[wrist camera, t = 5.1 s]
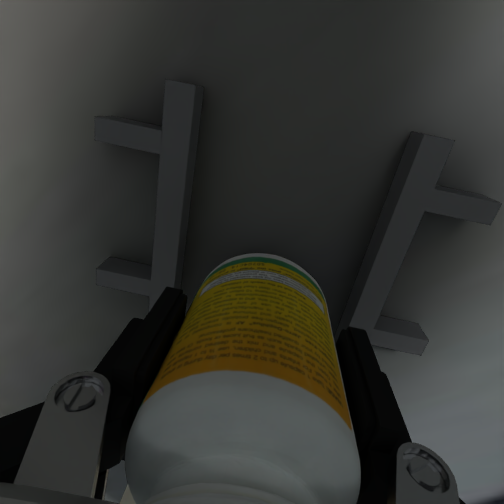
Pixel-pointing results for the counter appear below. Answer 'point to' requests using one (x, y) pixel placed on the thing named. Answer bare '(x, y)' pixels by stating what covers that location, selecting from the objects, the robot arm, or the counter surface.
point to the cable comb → (378, 252)
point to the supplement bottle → (248, 398)
